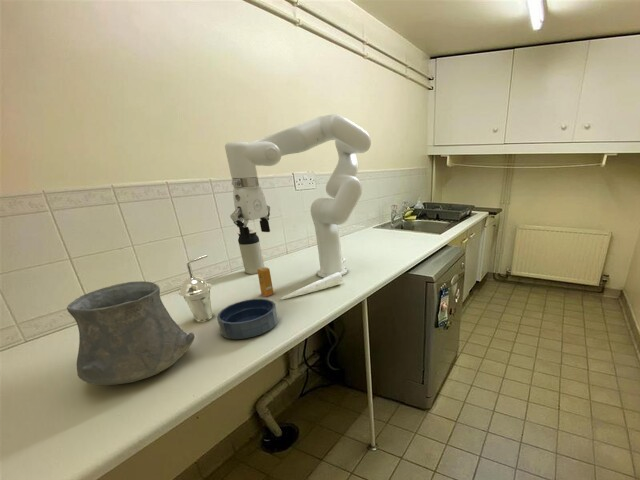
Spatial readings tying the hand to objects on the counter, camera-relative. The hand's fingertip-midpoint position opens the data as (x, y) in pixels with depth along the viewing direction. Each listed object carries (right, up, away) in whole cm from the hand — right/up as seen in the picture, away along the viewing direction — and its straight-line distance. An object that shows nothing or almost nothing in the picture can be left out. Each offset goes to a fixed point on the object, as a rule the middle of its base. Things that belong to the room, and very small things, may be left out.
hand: (256, 235), depth 106 cm
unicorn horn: (+17, -20, +10) cm, 28 cm away
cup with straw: (-12, -28, -8) cm, 31 cm away
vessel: (-11, -36, -30) cm, 49 cm away
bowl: (+5, -29, -13) cm, 32 cm away
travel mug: (-16, -12, +31) cm, 37 cm away
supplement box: (0, -21, +8) cm, 23 cm away
